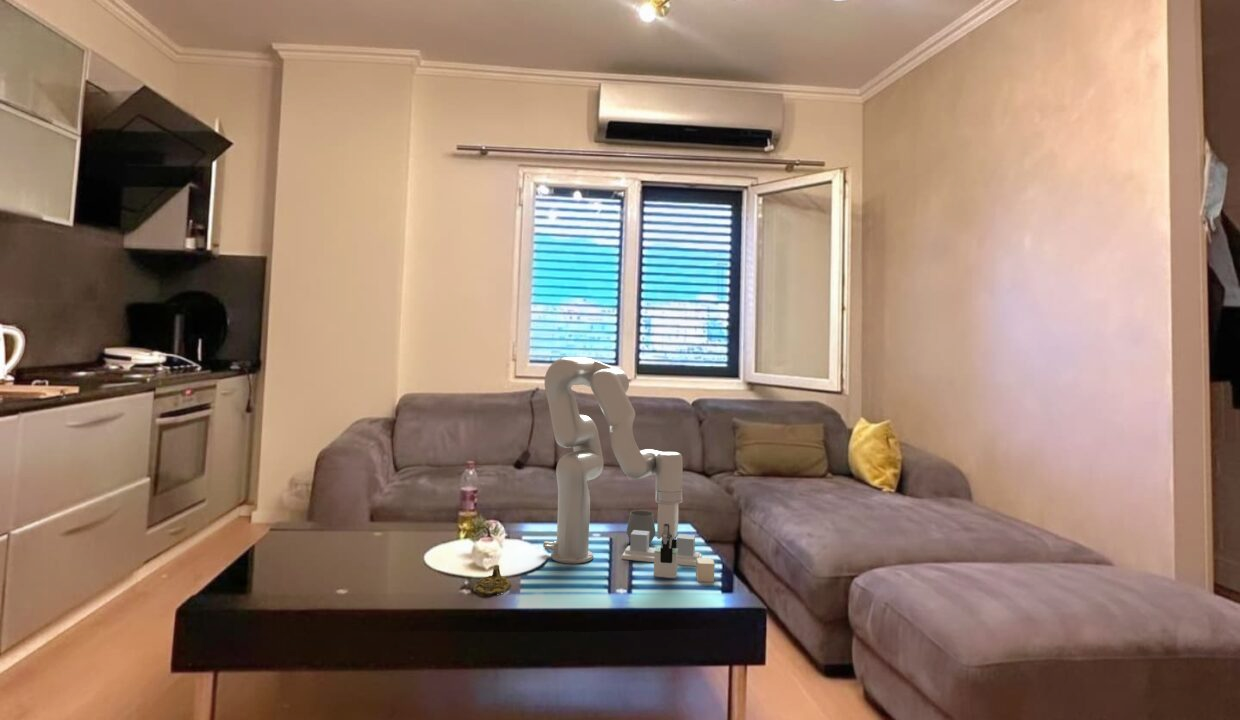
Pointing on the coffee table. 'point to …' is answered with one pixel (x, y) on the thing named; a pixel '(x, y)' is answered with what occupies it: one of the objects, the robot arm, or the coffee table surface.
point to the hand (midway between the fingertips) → (668, 557)
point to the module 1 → (665, 564)
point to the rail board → (643, 553)
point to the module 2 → (705, 569)
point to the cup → (641, 523)
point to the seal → (492, 584)
